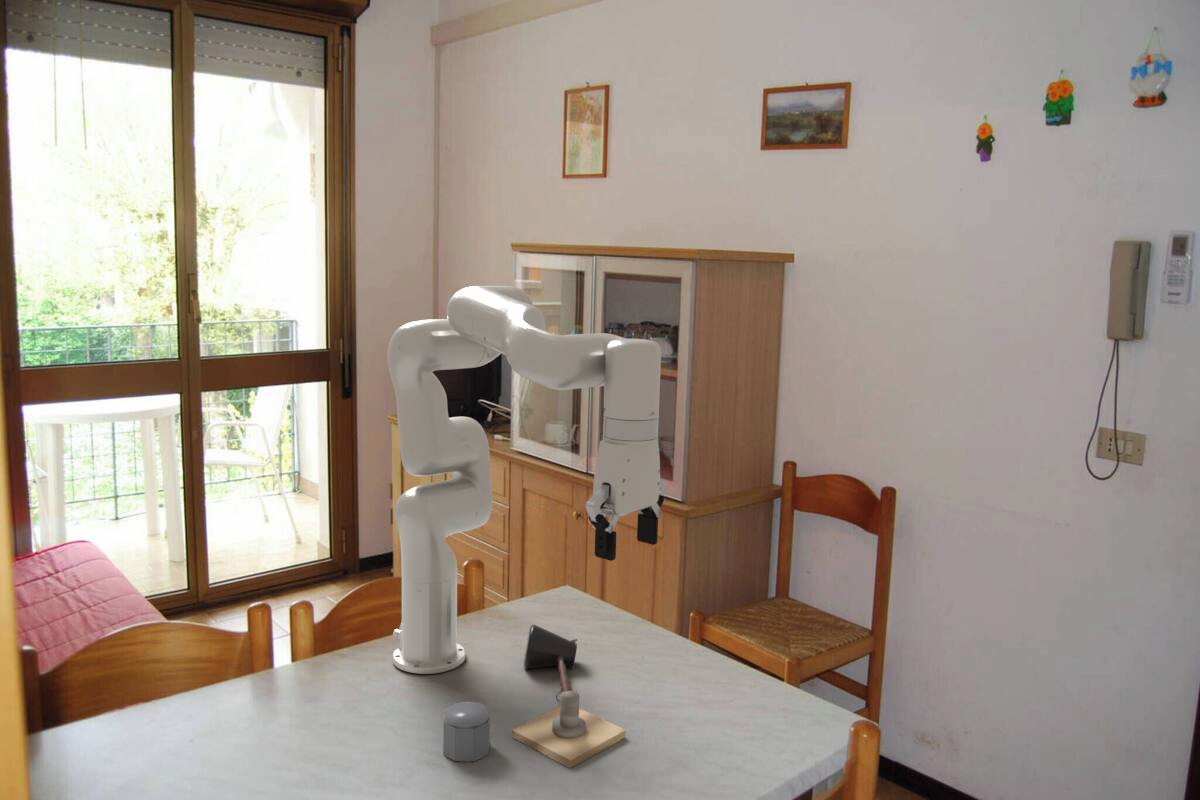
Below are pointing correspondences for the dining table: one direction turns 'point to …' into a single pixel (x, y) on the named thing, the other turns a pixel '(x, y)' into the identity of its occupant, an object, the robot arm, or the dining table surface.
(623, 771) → the dining table surface
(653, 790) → the dining table surface
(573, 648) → the coffee pot
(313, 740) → the dining table surface
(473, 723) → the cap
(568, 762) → the plate with round knob
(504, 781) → the dining table surface
